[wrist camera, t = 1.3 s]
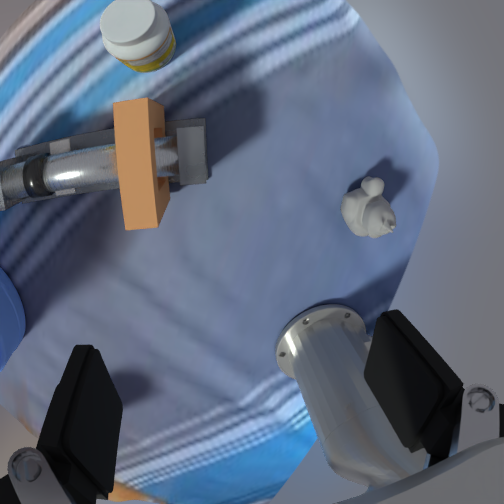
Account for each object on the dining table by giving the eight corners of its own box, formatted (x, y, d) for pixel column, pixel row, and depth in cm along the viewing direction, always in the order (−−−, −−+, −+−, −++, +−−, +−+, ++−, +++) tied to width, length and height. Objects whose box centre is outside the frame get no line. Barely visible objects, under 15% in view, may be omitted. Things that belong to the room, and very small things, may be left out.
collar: (163, 106, 26) (147, 97, 18) (170, 198, 29) (158, 227, 21) (138, 109, 25) (113, 102, 17) (146, 201, 29) (125, 230, 21)
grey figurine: (329, 226, 34) (362, 254, 27) (341, 167, 31) (380, 182, 24) (370, 231, 35) (407, 259, 28) (383, 176, 32) (426, 193, 25)
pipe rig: (205, 118, 28) (205, 115, 21) (208, 178, 30) (209, 194, 23) (16, 149, 25) (-21, 159, 18) (24, 202, 27) (-11, 222, 21)
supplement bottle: (180, 66, 25) (170, 40, 16) (126, 80, 25) (94, 62, 16) (172, 19, 23) (161, -21, 14) (119, 33, 23) (88, 0, 14)
